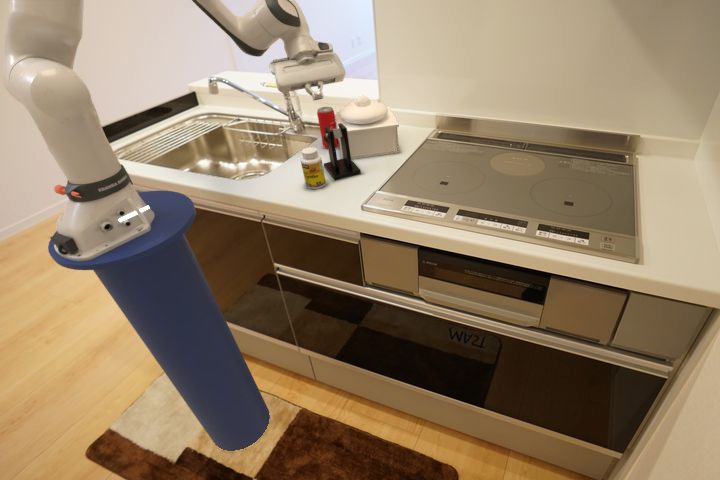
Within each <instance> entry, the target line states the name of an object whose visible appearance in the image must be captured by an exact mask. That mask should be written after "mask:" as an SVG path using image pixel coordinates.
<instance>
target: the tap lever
mask: <svg viewBox="0 0 720 480" xmlns="http://www.w3.org/2000/svg"><path fill="white" fill-rule="evenodd" d="M332 131H333V137H334V139H338V138H341V137H342V133H341V129H340V128H338V129H333V130H332ZM338 140H339V139H338ZM324 141H325V142H326V143H327V139H326V136H325V135H324Z"/></svg>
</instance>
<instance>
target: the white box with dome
mask: <svg viewBox="0 0 720 480" xmlns="http://www.w3.org/2000/svg"><path fill="white" fill-rule="evenodd" d="M334 115H335V121H336V127H337V129H338V128H339V127H338V124H340V123H342V124H343V125H344V126H345V127H346V128H347V134H348V141H349V148H350V155H351V160H355V159H363V158H371V157H378V156H383V155H390V154H391V155H392V154H399V153H400V152H399V137H398V136H399V135H398V128H400V124H399V122H398V120H397V118H396V116H395V115H394V113H393V111H392V109H391V107H390V105H386V104H384V103H383V102H380V101H377V100H372V99H370V97H368V96H366V95H365V94H363V95H359V96H357V97H356V98H355V101H353V102H350V103H348V104H345V105H344V106H343V107H341V108H340V110H339V111H336V112H335V113H334ZM338 140H339V144H338V145H339V149H340V154H341V159H343V152H342V146H341V139H340V138H338Z"/></svg>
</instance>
